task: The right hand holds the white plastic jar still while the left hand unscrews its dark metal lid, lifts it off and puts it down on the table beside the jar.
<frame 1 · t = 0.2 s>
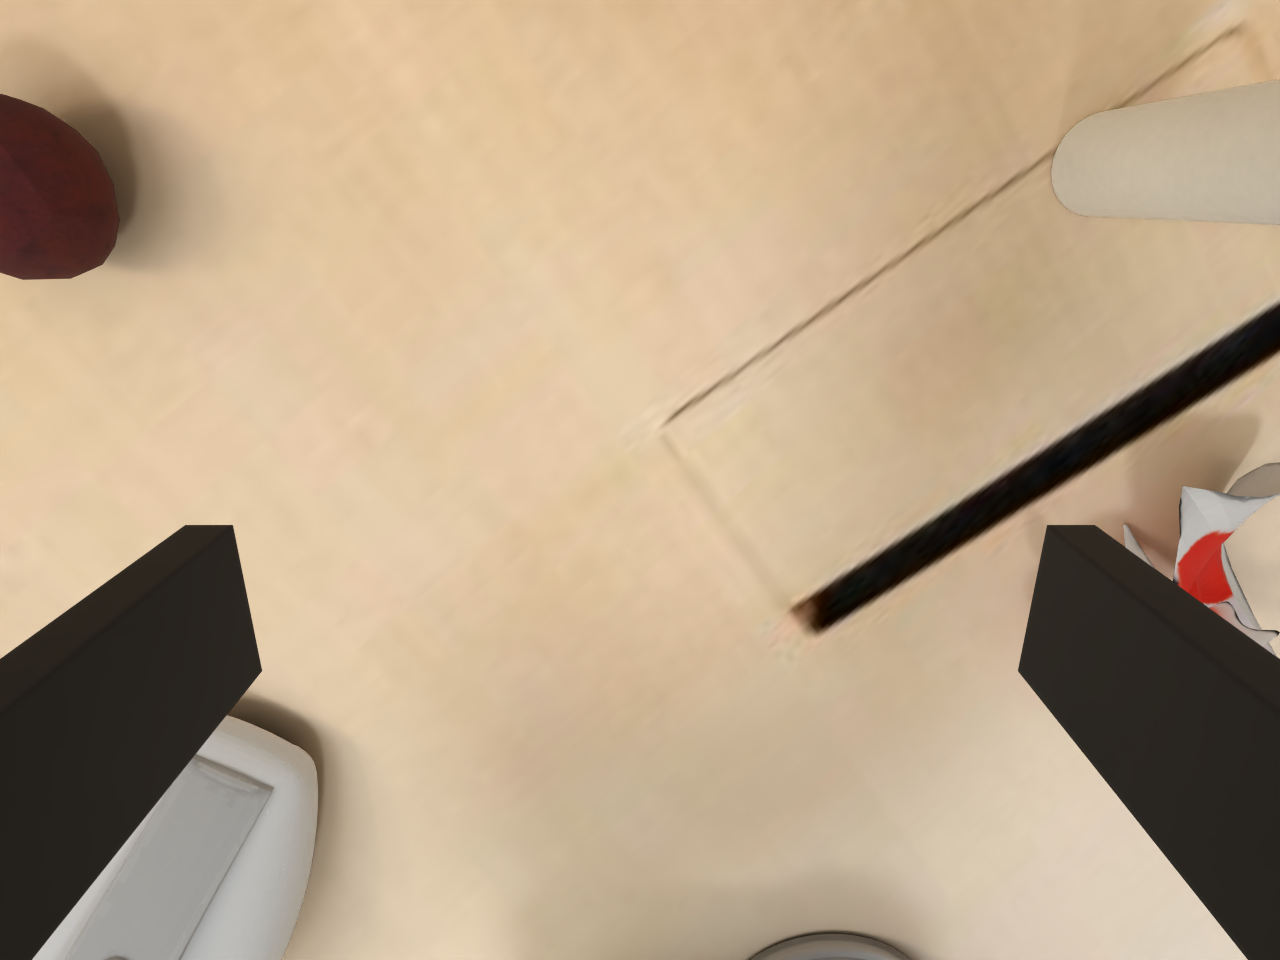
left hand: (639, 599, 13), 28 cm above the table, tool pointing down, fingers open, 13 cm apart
fish: (1126, 545, 43), on the table
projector: (203, 836, 50), on the table
potato: (76, 193, 37), on the table
jar: (1100, 164, 36), on the table
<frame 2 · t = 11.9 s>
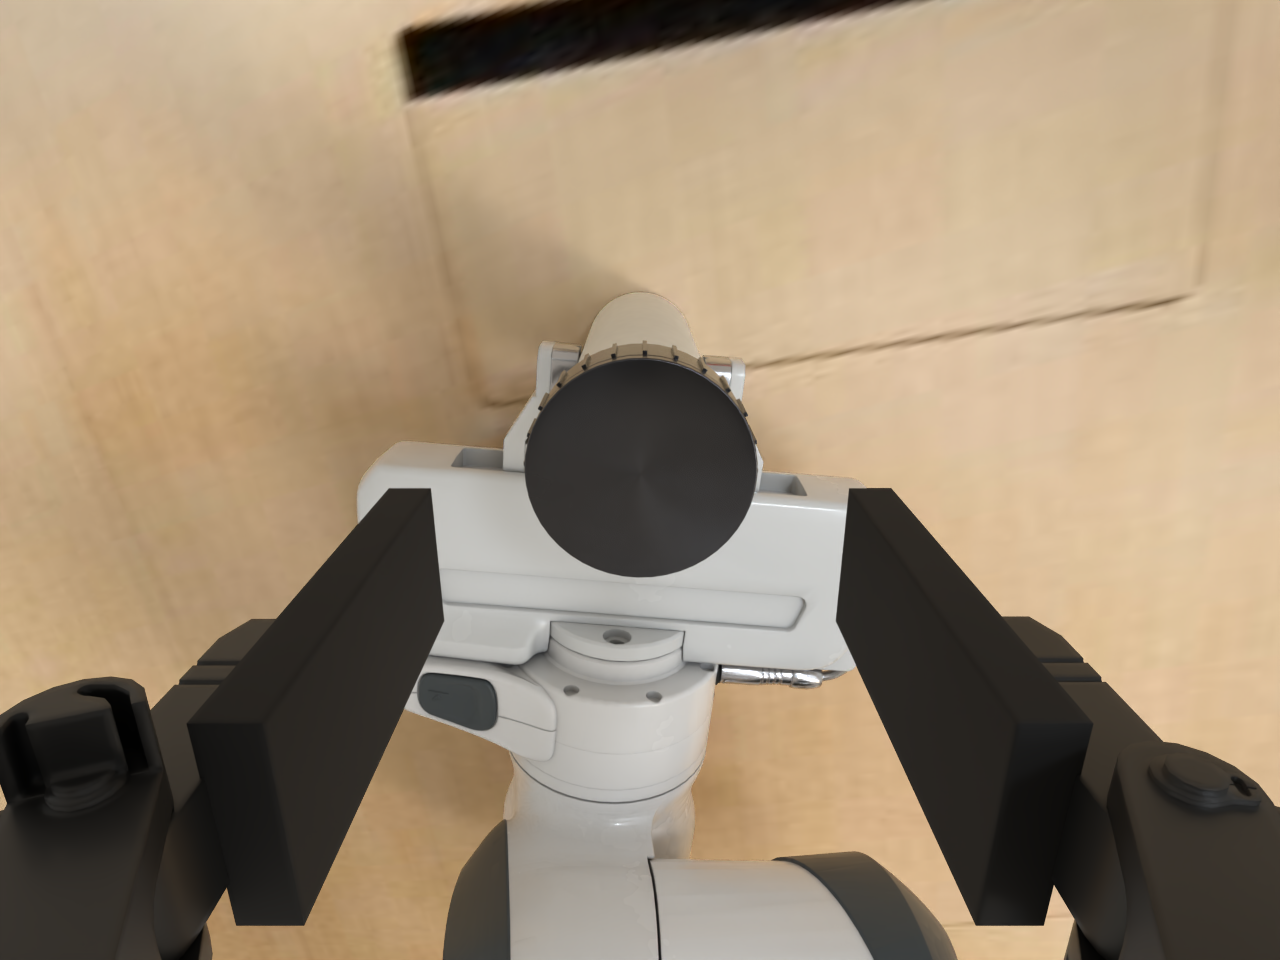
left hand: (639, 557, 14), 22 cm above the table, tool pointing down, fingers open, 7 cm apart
right hand: (641, 351, 28), fingers closed on jar, 4 cm apart
lid: (641, 469, 19), point 17 cm above the table, screwed on, not yet turned
jar: (640, 344, 34), on the table, touching right hand
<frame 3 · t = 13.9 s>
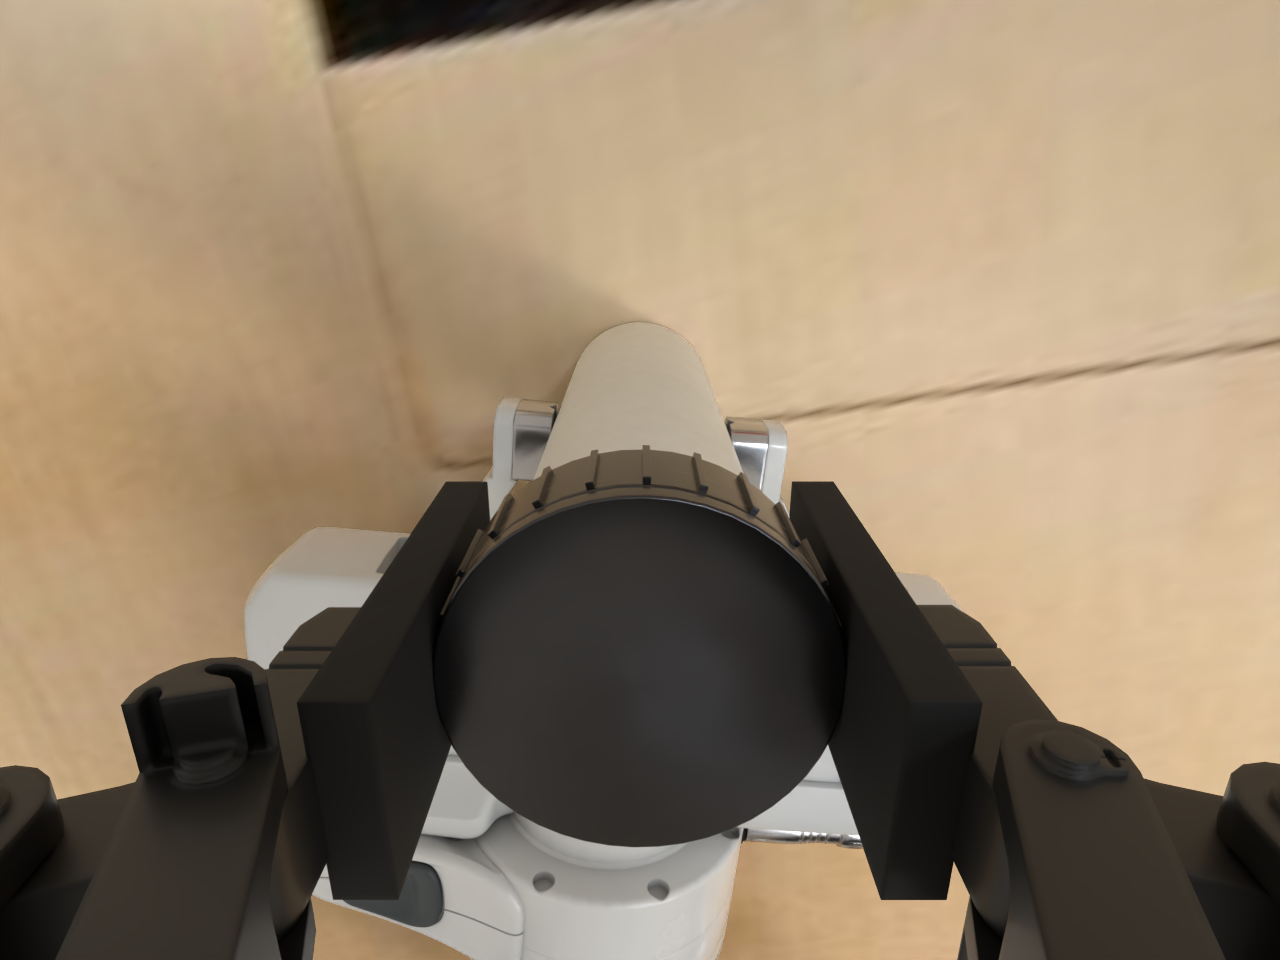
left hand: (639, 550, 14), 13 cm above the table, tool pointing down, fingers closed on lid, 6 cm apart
lid: (639, 673, 11), point 17 cm above the table, screwed on, not yet turned, touching left hand
jar: (639, 389, 26), on the table, touching right hand
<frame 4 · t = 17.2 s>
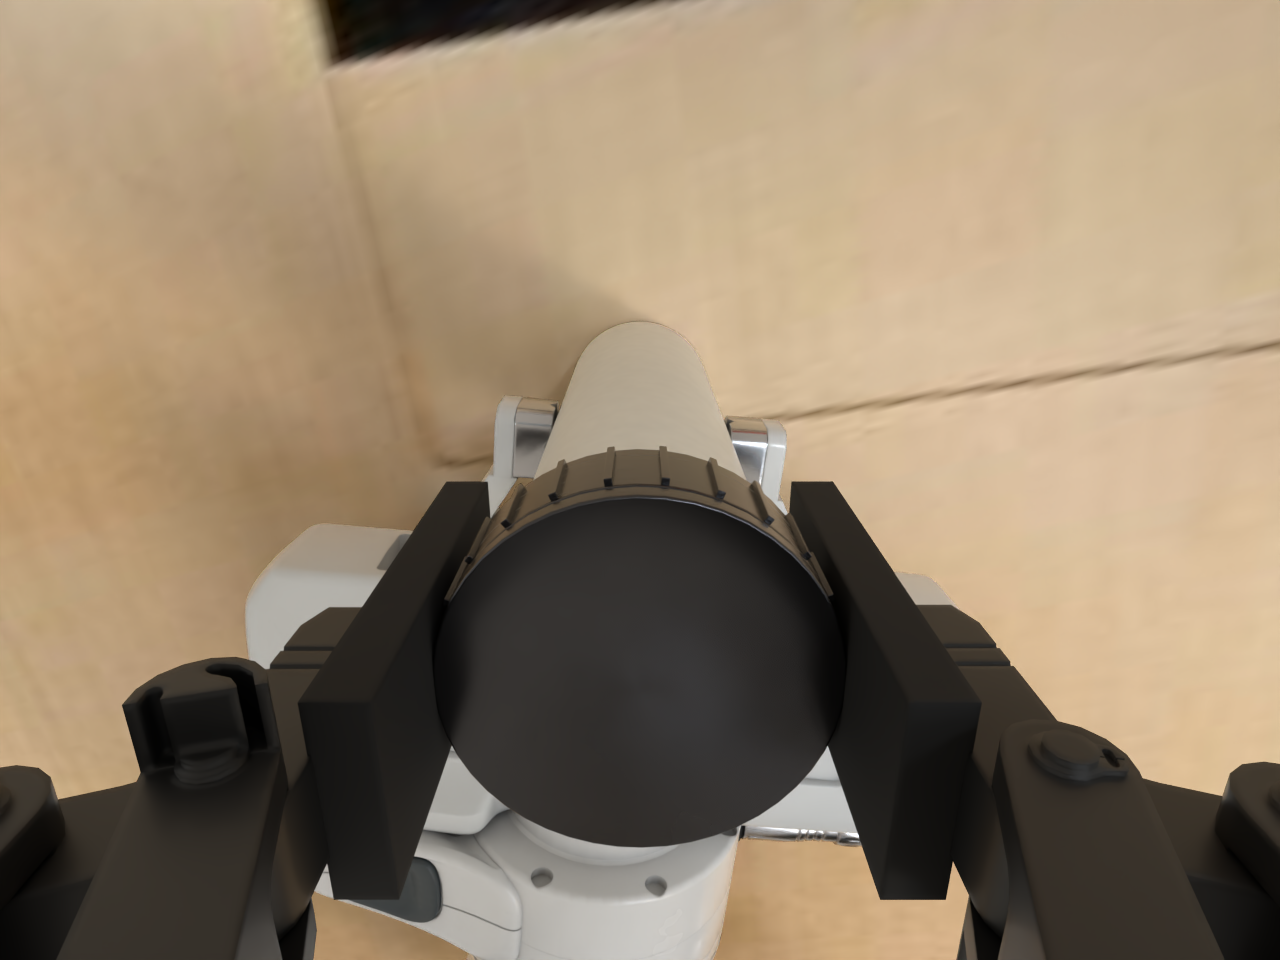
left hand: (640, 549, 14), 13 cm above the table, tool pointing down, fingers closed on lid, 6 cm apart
lid: (639, 673, 11), point 17 cm above the table, turned 100° so far, risen 0.1 cm, still on its thread, touching left hand
jar: (639, 388, 26), on the table, touching right hand
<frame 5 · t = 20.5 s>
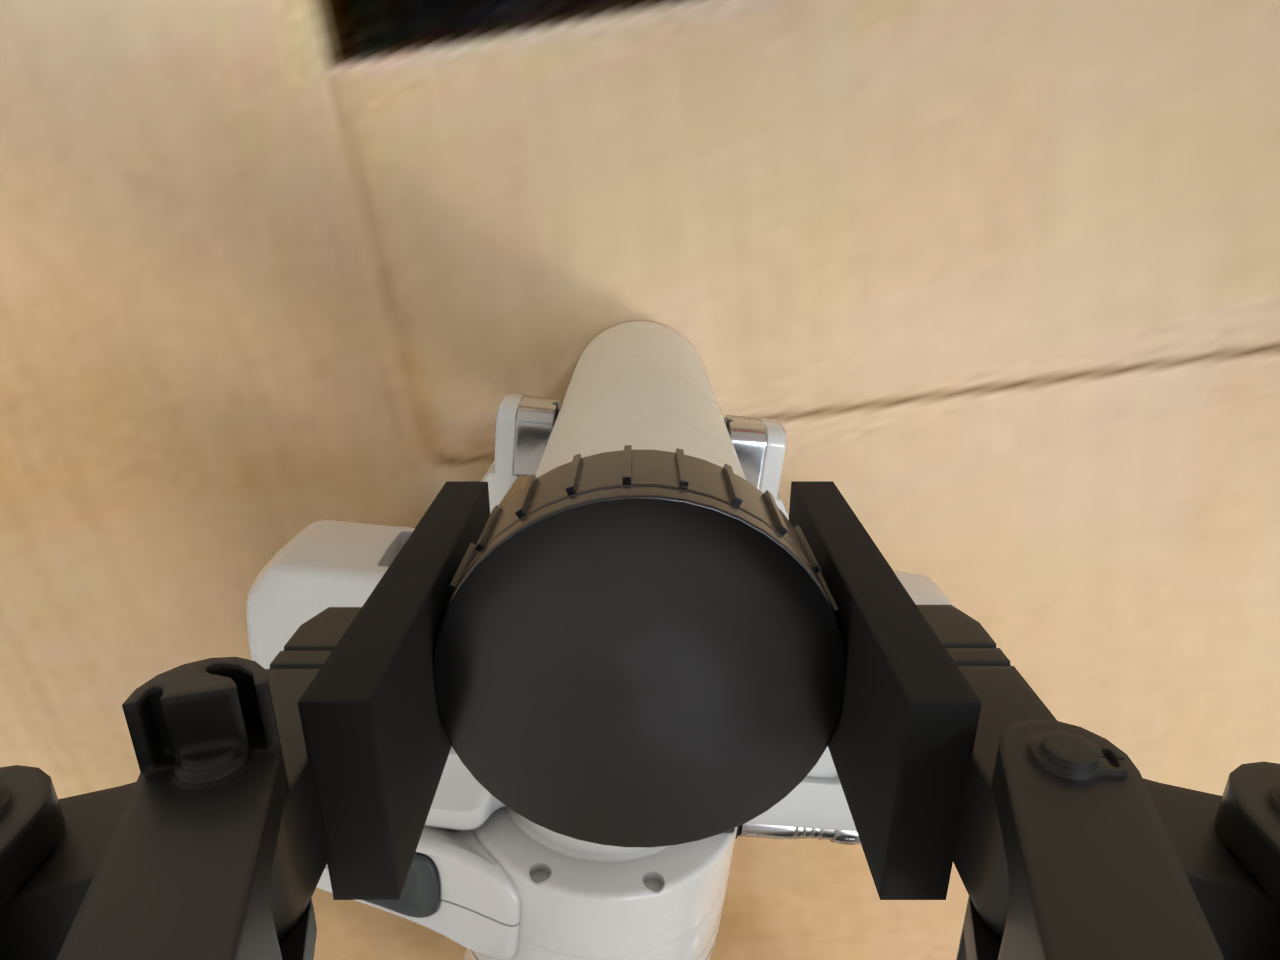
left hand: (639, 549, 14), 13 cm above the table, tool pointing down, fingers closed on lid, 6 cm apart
lid: (639, 673, 11), point 17 cm above the table, turned 201° so far, risen 0.3 cm, still on its thread, touching left hand
jar: (639, 388, 27), on the table, touching right hand
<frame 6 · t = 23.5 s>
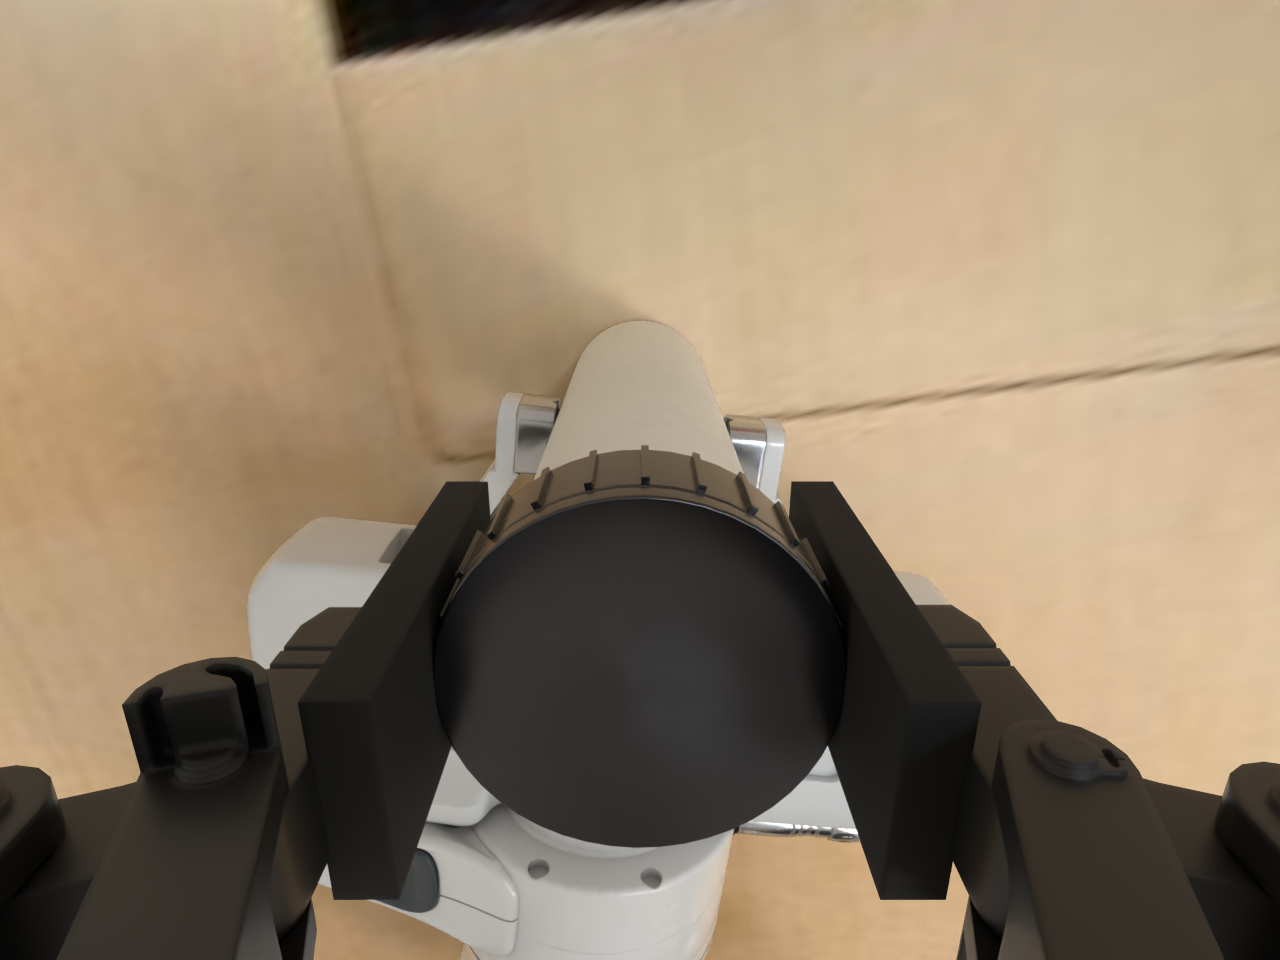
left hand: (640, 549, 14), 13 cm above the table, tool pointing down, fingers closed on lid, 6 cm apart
lid: (639, 674, 11), point 17 cm above the table, turned 301° so far, risen 0.4 cm, still on its thread, touching left hand
jar: (639, 387, 27), on the table, touching right hand
when the left hand's fingers open (0 cm above the table, at t = 30.7 s): lid stays where it is, point 2 cm above the table.
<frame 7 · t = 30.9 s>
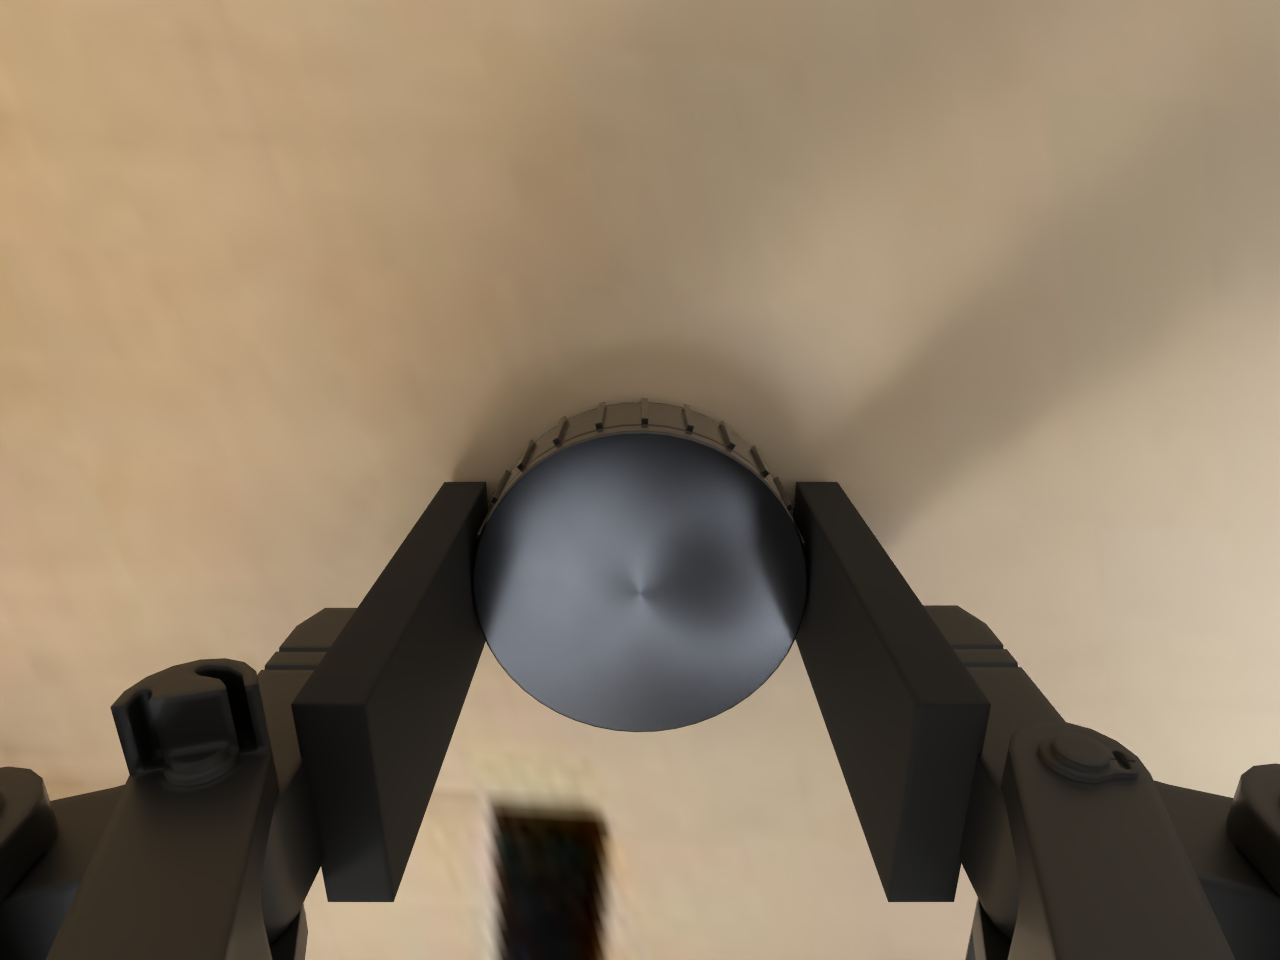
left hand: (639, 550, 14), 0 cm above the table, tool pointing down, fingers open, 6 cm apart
lid: (640, 583, 13), point 2 cm above the table, off its thread
when the right hand's fingers open (6 cm above the table, at t = 31.7 s): jar stays where it is, on the table.
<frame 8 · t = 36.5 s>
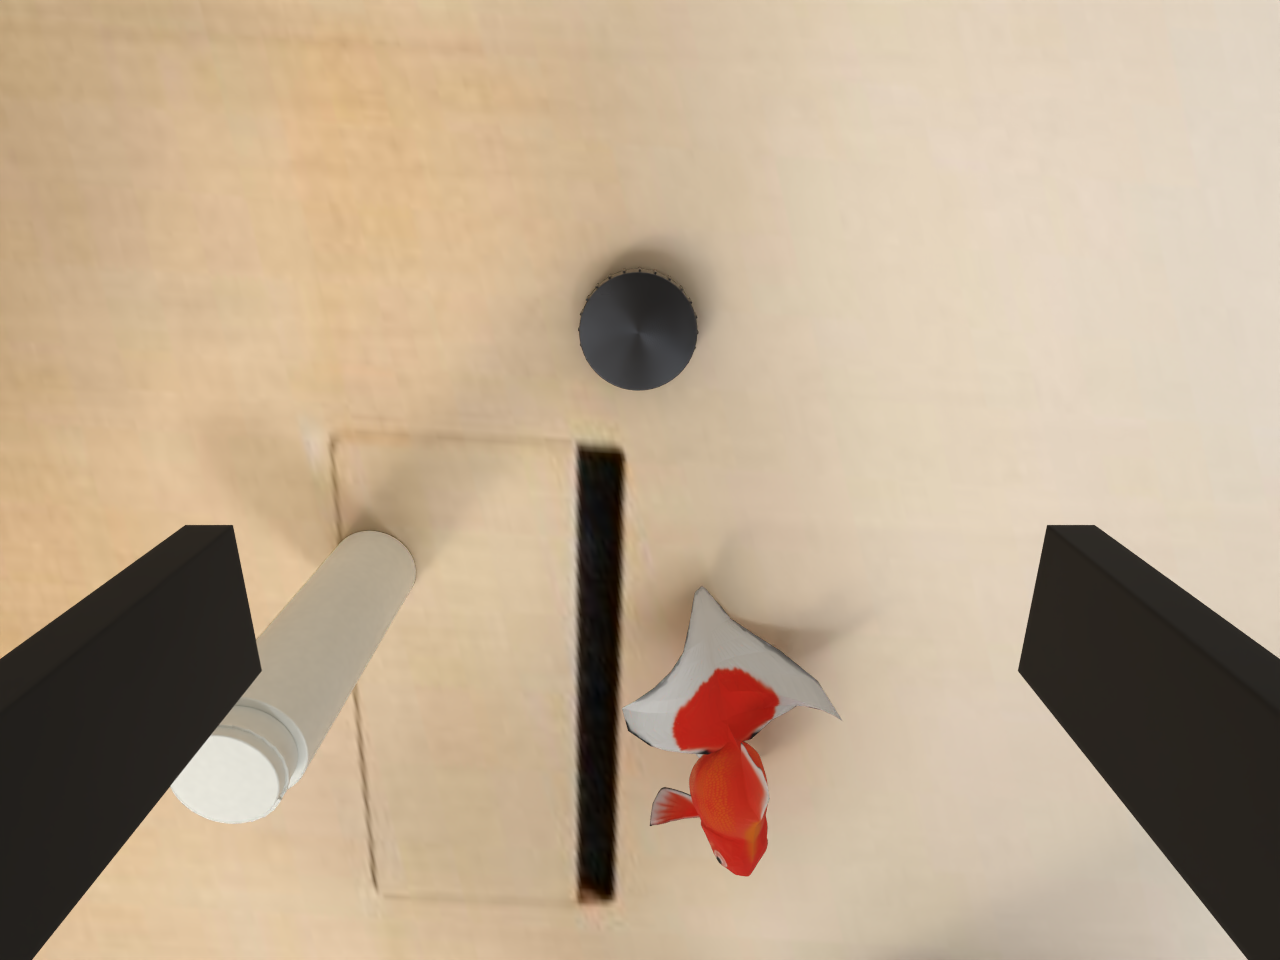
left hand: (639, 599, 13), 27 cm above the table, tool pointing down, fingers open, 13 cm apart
lid: (638, 331, 37), point 2 cm above the table, off its thread
fish: (711, 688, 45), on the table
jar: (374, 568, 43), on the table
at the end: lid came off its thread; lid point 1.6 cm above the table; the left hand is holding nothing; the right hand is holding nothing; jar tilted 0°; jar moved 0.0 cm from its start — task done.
